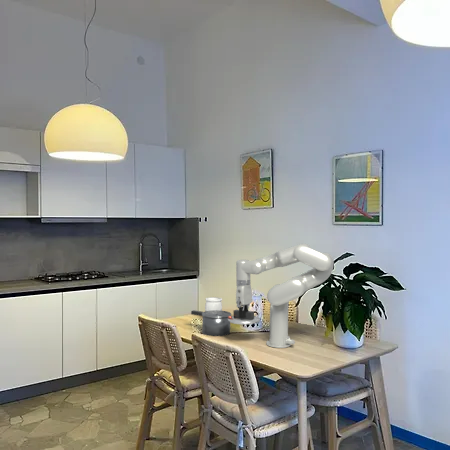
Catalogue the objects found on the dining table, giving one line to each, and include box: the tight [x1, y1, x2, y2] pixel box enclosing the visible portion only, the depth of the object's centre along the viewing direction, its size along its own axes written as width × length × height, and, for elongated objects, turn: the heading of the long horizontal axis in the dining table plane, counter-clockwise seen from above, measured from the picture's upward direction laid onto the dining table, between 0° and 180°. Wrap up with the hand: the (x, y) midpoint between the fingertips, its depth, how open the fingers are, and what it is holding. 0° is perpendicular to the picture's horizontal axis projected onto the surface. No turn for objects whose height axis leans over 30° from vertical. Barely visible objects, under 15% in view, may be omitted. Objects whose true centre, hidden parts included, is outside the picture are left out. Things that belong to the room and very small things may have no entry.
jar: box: [204, 296, 223, 312], centre depth 282 cm, size 11×10×15 cm
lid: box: [228, 309, 261, 325], centre depth 240 cm, size 17×17×5 cm
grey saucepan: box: [190, 309, 232, 337], centre depth 259 cm, size 25×17×11 cm, turn 58°
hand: (243, 316), depth 240 cm, fingers closed on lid, 3 cm apart
